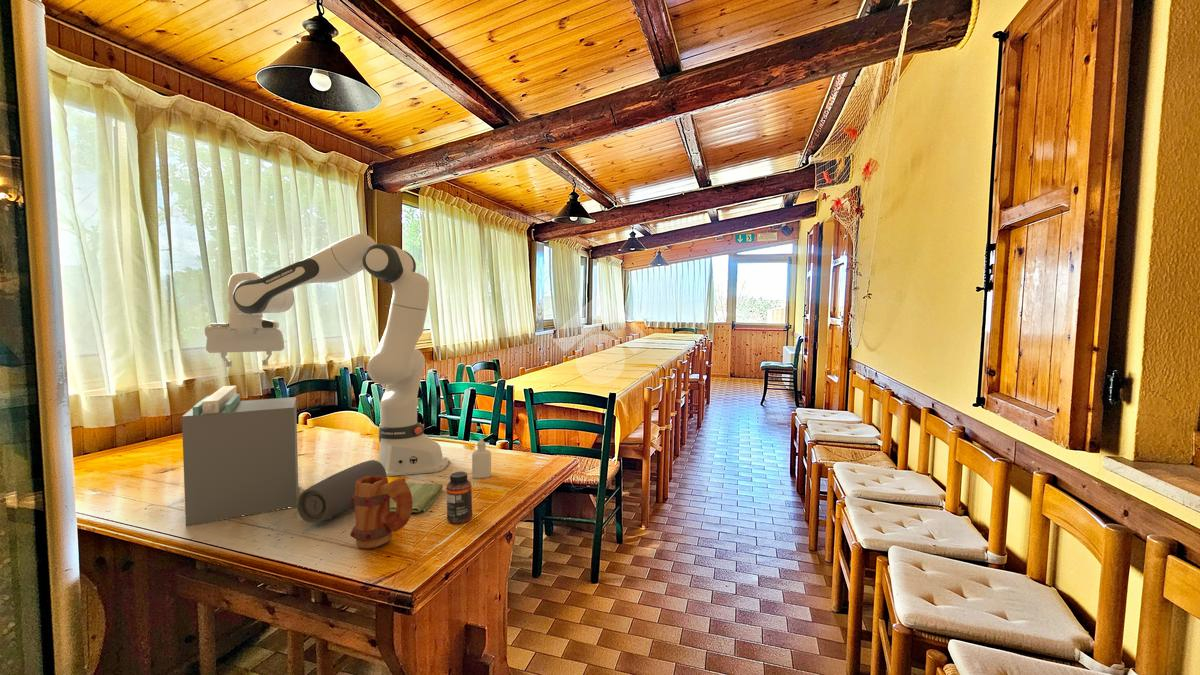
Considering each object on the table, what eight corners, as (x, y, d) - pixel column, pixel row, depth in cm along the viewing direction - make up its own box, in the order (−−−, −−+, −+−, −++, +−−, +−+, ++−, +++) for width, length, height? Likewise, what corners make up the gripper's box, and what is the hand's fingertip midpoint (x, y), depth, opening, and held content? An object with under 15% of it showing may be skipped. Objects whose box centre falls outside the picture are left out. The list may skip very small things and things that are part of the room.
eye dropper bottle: (477, 473, 151) (476, 435, 150) (493, 475, 149) (493, 437, 149) (469, 478, 146) (469, 439, 146) (486, 479, 145) (486, 440, 144)
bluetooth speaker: (330, 530, 111) (329, 487, 110) (295, 527, 112) (294, 485, 112) (389, 494, 133) (388, 458, 133) (358, 492, 135) (358, 457, 134)
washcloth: (371, 516, 119) (371, 504, 119) (401, 490, 137) (401, 479, 137) (423, 517, 119) (423, 504, 119) (447, 491, 137) (446, 480, 137)
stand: (201, 500, 128) (197, 396, 127) (298, 485, 139) (295, 390, 138) (185, 526, 113) (181, 407, 111) (296, 507, 124) (293, 399, 123)
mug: (341, 548, 102) (340, 478, 102) (372, 532, 110) (370, 467, 109) (395, 560, 97) (393, 487, 96) (423, 543, 105) (422, 475, 104)
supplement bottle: (464, 512, 121) (464, 468, 121) (476, 519, 117) (476, 473, 116) (442, 519, 117) (441, 473, 116) (454, 527, 113) (453, 479, 112)
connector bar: (223, 396, 138) (223, 386, 138) (236, 395, 140) (236, 385, 140) (199, 416, 112) (199, 403, 111) (216, 415, 113) (215, 402, 113)
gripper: (202, 323, 146) (204, 368, 146) (283, 323, 156) (284, 365, 157) (206, 323, 151) (208, 366, 152) (284, 322, 162) (285, 363, 162)
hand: (247, 366), depth 154 cm, fingers open, 8 cm apart
